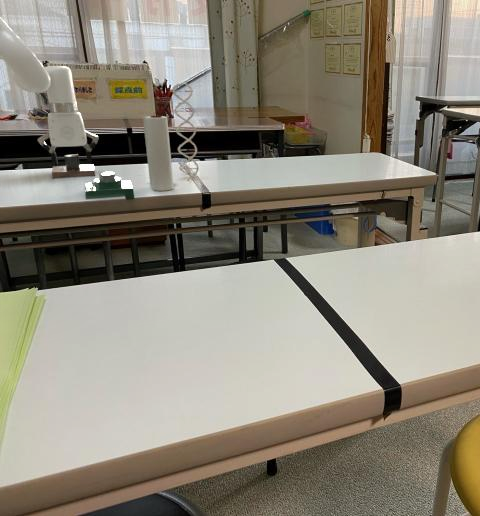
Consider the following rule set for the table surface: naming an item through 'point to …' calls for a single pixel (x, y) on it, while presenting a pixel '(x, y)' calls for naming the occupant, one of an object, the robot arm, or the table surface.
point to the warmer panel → (73, 171)
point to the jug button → (107, 176)
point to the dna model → (188, 130)
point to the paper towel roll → (158, 152)
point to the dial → (72, 161)
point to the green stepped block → (109, 189)
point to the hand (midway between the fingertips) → (72, 164)
